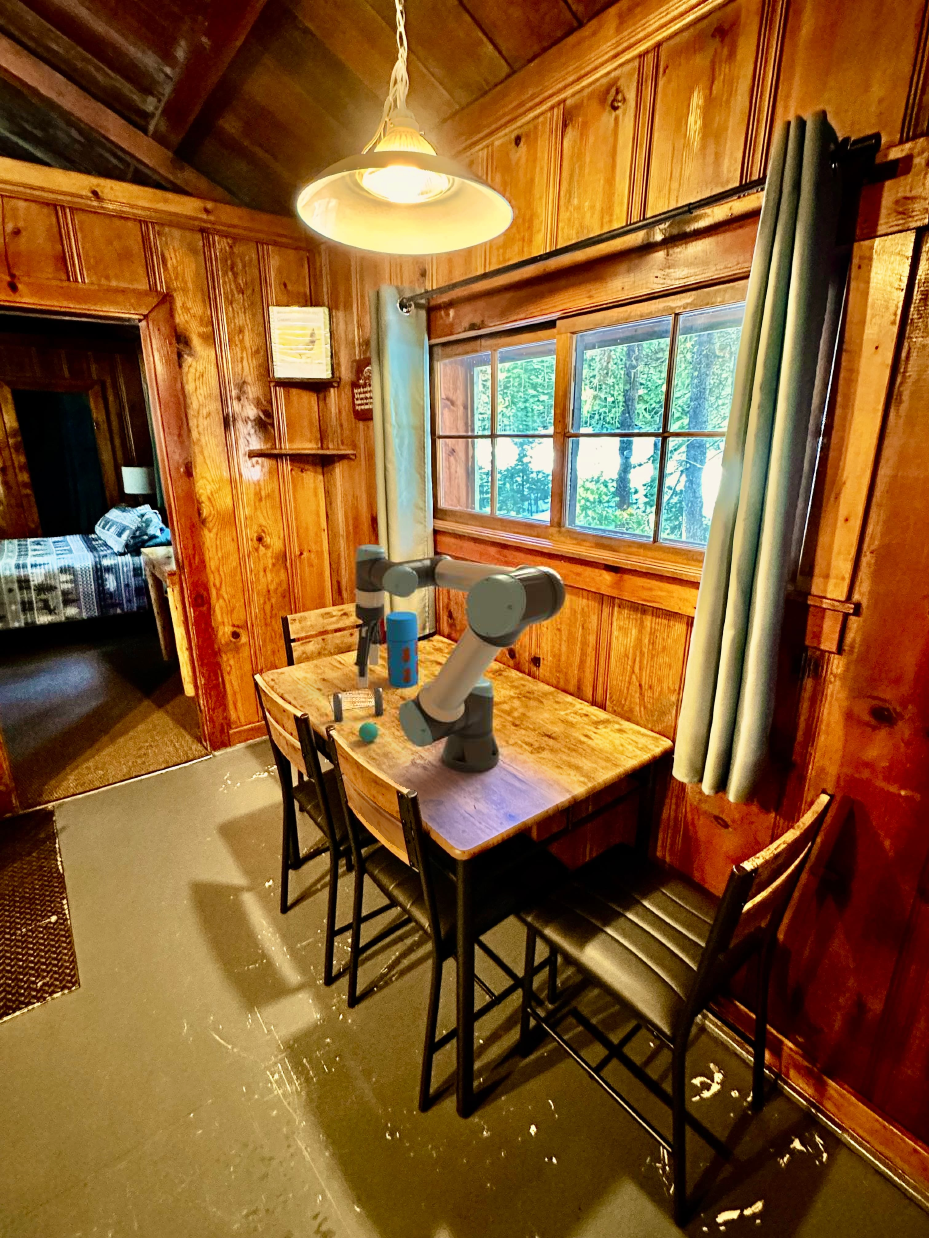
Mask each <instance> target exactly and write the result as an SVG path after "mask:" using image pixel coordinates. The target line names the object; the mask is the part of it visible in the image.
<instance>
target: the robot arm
mask: <svg viewBox="0 0 929 1238" xmlns="http://www.w3.org/2000/svg"><path fill="white" fill-rule="evenodd" d="M355 553H356V554H355V561H354V563H355V589H354V590H353V594H355V602H356V604H355V611H354V612H355V614H354V615H355V618H356V619H358V620H359V621H361V622H362V624H361V625H360V628H359V629H358V641H357V642H358V643H357V650H356V658H355V662H354V664H353V665H354V666H355V667H357V683H356V684H357V687H358V688H368V687H369V666H374V667H375V666H377V667H378V666H379V665H380V645H381V644H383V639H382V633H381V625H380V620H382V619H383V618H384V616H385V592H386V593H388V594H390V595H391V596H394V597H397V598H398V597H399V598H405V599H406V598H408V597H411V595H412V594H414V593H415V592H416V590H418V589H424V588H429V587H437V588H441V589H448V590H451V591H452V590H453V591H459V592H463V593H467V594H466V597H465V602H464V603H465V605H466V608H465V609H464V610H465V617H466V623H467V627H466V629H465V630H464V631H463V633H462V635H461V636H460V638H459V640H458V641H457V643H456V644H455V647H454V648H453V649H452V651H451V652H450V654H449V656H448V657H447V658H446V660H445V662H444V663H443V665H442V666H441V668H440V670H439V672H438V673H437V674H436V676H435V677H434V678H433V679H434V680H431V681H428V682H426V683H424V684H423V685H422V687H421V688H420V690H419V691H418V693H417V694H416V695H415V697H414V698H412V699H407V700H405V701H404V702H402V703H401V704H400V705H399V708H398V719H399V724H400V727H401V729H402V732H403V734H404V735H405V738H406V739H407V740H408V741H409V742H410V743H411V744H412V745H414V746H416V747H417V748H423V747H426V746H432V745H433V744H434V743H436V742H438V741H441V740H443V739H445V738H446V740H445V743H444V746H443V749H442V760H443V763H444V764H445V765H446V766H448V767H449V768H450V769H452V770H455V771H459V772H462V773H479V772H484V771H487V770H489V769H492V768H494V767H495V766H496V765H497V764H498V762H499V761H500V760H499V759H500V750H499V746H498V744H497V740H496V737H495V734H494V732H493V731H494V702H495V701H494V698H495V694H494V684H493V682H492V680H490V679H489V678H487V677H485V676H483V675H484V674H485V673H486V671H487V670H488V668H489V667H490V666H491V664H492V663H493V662H494V660H495V659H496V657H497V656H498V654H499V653H500V652H501V650H502V649H507V648H510V647H513V646H514V644H515V643H516V642H517V641H518V640H519V638H520V636H521V635H522V634H523V632H524V631H525V630H526V629H527V628H528V627H530V626H534V625H537V624H541V623H542V622H545V621H549V620H551V619H553V618H554V617H555V616H556V615H558V613H560V611H561V610H562V609H563V606H564V604H565V601H566V596H567V595H566V594H567V591H566V590H567V589H566V586H565V583H564V580H563V579H562V577H561V576H560V574H559V573H558V572H557V571H555V570H554V569H552V568H550V567H547V566H541V565H540V566H539V565H529V564H522V565H519V566H517V567H509V566H502V565H500V566H499V565H496V564H495V565H493V564H487V563H480V562H472V561H465V560H459V559H458V560H457V559H452V558H451V556H449V555H433V556H430V557H429V556H428V557H424V558H419V559H418V558H416V559H411V560H404V561H403V560H402V561H396V562H395V561H392V560H389V559H388V558H386V557H387V554H386V549H385V547H384V546H382V545H378V544H362V545H359V546H358V547H357V548H356V552H355Z"/></svg>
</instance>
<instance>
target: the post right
mask: <svg viewBox="0 0 929 1238" xmlns="http://www.w3.org/2000/svg"><path fill="white" fill-rule="evenodd" d="M373 698H374V705H375V706H374V715H375V717H383V715H384V700H383V699H384V698H383V687H382V686H374V687H373Z"/></svg>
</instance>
